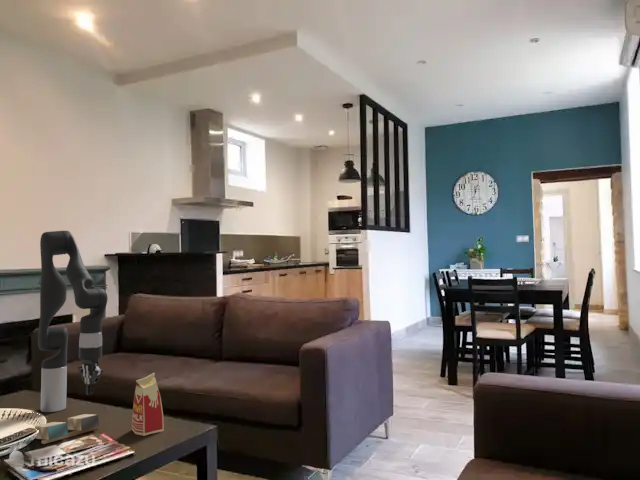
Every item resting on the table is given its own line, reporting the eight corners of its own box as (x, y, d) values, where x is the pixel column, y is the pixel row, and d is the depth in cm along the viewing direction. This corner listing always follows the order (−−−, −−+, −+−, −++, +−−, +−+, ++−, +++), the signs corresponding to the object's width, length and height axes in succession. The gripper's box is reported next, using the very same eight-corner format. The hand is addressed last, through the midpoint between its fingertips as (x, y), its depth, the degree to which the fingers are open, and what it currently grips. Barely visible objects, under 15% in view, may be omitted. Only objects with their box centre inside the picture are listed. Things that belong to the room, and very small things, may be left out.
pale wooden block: (82, 430, 173) (68, 429, 179) (98, 426, 178) (84, 425, 184) (81, 418, 174) (67, 418, 179) (98, 414, 178) (83, 414, 184)
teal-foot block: (49, 439, 164) (35, 438, 170) (67, 434, 169) (53, 433, 175) (48, 427, 165) (35, 426, 171) (67, 422, 170) (53, 421, 175)
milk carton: (153, 424, 184) (153, 369, 185) (165, 430, 177) (165, 373, 178) (128, 430, 177) (129, 373, 178) (140, 437, 171) (141, 378, 172)
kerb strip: (41, 443, 165) (41, 440, 166) (96, 427, 181) (96, 425, 181) (43, 444, 165) (43, 441, 165) (98, 428, 180) (98, 425, 180)
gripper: (70, 344, 179) (69, 393, 178) (90, 348, 171) (89, 399, 170) (91, 341, 185) (90, 389, 184) (110, 345, 177) (110, 395, 176)
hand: (89, 394), depth 177 cm, fingers closed
